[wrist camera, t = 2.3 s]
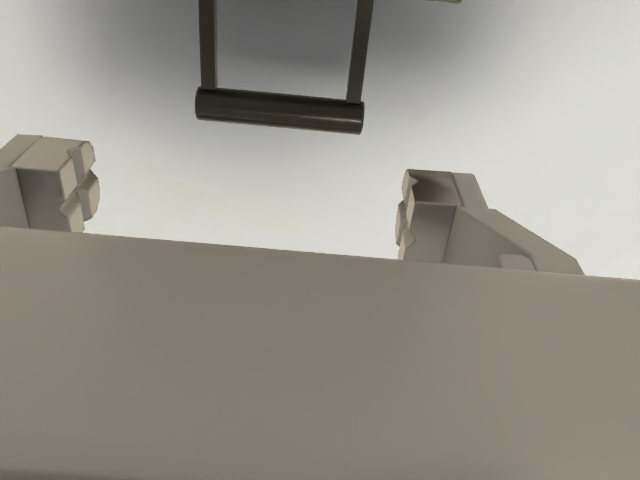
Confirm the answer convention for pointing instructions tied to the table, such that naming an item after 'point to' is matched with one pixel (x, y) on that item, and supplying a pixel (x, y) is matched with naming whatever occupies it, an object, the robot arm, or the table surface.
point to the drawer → (275, 105)
